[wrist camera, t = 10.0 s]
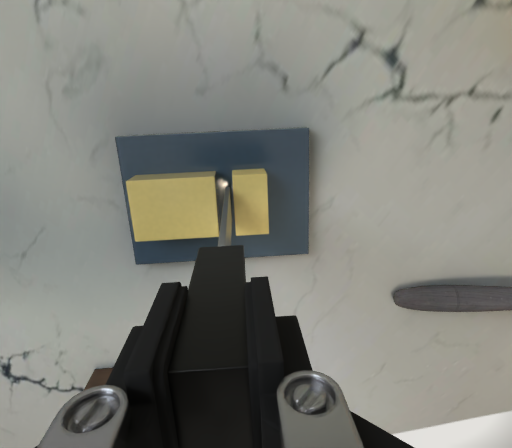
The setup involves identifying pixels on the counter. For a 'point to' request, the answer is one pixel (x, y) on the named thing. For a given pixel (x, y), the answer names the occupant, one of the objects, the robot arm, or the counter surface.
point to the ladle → (455, 298)
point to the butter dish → (226, 159)
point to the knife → (213, 350)
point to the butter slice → (250, 201)
